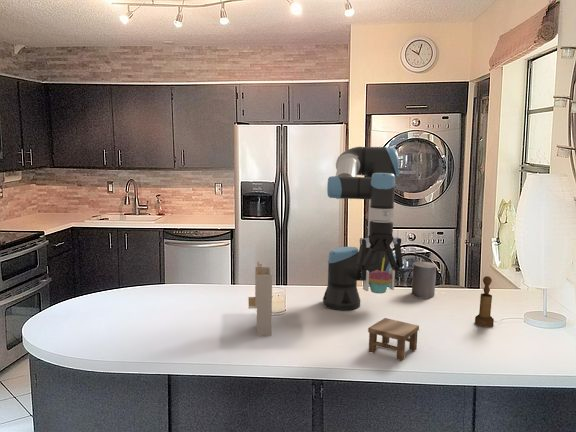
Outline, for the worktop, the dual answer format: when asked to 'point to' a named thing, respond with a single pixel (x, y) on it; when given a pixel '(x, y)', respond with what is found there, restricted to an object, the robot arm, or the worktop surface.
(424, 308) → the worktop surface
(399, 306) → the worktop surface
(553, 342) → the worktop surface
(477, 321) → the brown chess pawn
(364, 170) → the robot arm
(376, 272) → the cupcake
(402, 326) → the walnut stool
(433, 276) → the pillar candle
